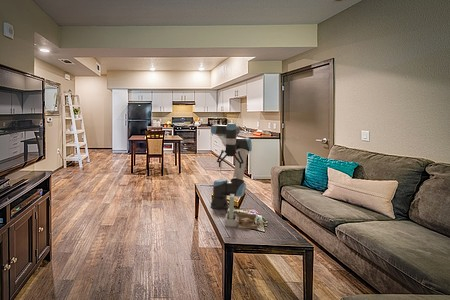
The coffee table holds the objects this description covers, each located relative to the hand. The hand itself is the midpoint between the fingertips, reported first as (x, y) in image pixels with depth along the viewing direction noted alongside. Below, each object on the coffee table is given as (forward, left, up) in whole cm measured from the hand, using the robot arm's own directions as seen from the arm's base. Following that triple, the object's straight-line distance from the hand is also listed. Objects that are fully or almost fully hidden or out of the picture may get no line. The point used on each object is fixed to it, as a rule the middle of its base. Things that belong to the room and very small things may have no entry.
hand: (229, 172), depth 254 cm
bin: (+16, +3, -35) cm, 38 cm away
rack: (+17, +14, -35) cm, 41 cm away
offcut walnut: (+20, +14, -33) cm, 41 cm away
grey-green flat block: (+16, +3, -34) cm, 38 cm away
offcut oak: (+21, +13, -31) cm, 39 cm away
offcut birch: (+21, +14, -35) cm, 43 cm away
